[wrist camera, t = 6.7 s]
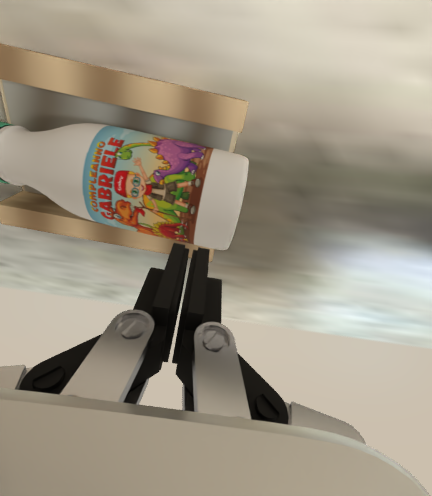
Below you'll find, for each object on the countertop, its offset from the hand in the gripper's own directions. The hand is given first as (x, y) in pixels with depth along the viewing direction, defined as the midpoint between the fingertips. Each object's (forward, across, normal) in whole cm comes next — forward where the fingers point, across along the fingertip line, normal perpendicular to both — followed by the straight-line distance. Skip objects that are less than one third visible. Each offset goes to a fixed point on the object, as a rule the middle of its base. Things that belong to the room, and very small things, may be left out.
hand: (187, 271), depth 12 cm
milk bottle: (+10, -3, 0) cm, 10 cm away
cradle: (+15, +8, 0) cm, 17 cm away
